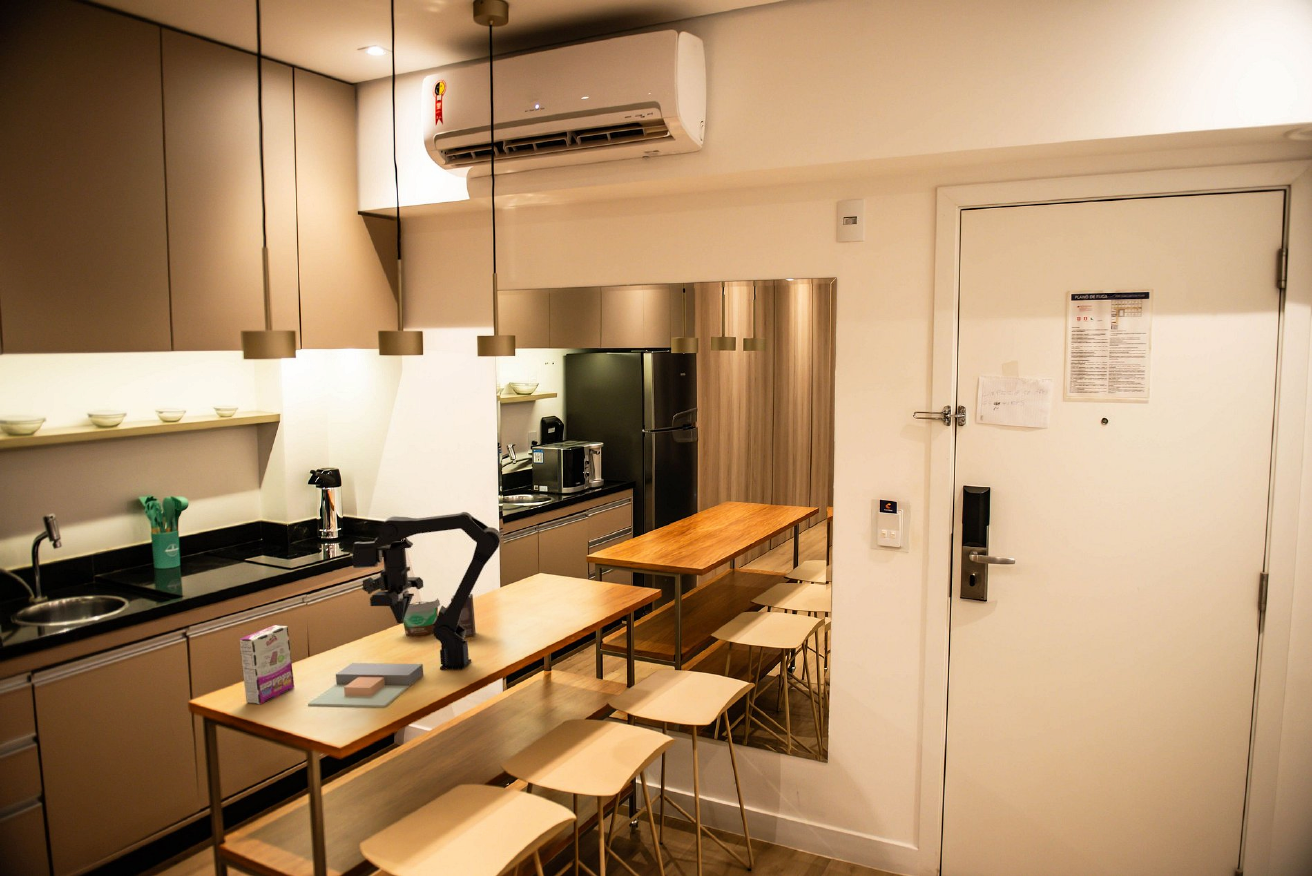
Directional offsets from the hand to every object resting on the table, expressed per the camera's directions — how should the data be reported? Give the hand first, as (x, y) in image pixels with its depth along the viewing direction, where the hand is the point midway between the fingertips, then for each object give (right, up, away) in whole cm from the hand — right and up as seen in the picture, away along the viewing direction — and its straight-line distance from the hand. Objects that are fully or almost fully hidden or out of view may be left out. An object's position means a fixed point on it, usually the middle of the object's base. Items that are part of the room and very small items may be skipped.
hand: (399, 623), depth 220 cm
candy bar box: (-29, -16, -12) cm, 35 cm away
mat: (-5, -15, -15) cm, 22 cm away
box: (+11, -10, +29) cm, 32 cm away
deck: (-4, -14, -5) cm, 15 cm away
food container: (-3, -11, +31) cm, 33 cm away
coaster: (-5, -14, -13) cm, 19 cm away
